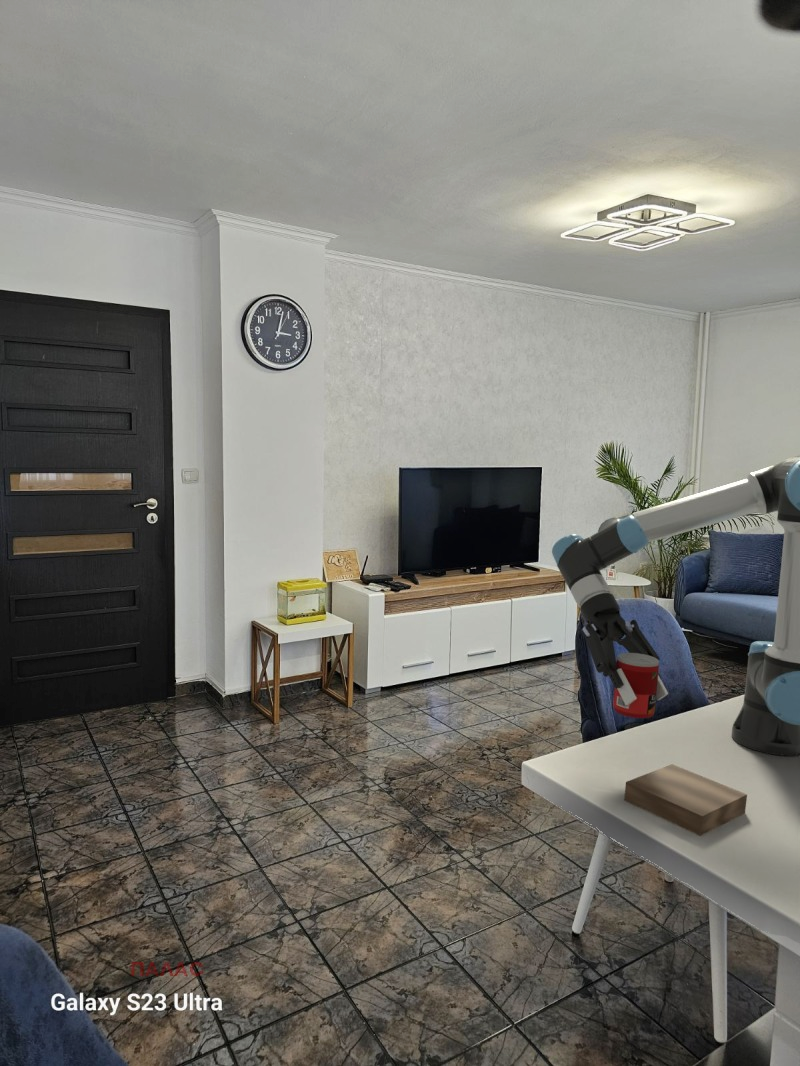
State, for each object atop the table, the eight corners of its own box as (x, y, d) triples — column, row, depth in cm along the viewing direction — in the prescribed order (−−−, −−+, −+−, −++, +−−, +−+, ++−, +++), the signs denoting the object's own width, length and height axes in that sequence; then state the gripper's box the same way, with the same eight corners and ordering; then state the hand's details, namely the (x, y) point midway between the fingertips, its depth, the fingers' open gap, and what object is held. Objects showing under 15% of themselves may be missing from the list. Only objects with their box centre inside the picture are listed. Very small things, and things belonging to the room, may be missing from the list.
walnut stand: (670, 781, 147) (671, 764, 146) (745, 812, 135) (747, 794, 135) (624, 800, 137) (625, 781, 137) (700, 836, 126) (702, 816, 125)
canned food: (656, 721, 144) (661, 665, 143) (613, 716, 146) (618, 661, 145) (652, 707, 152) (656, 654, 150) (611, 703, 153) (615, 650, 152)
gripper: (621, 607, 165) (672, 702, 153) (548, 613, 156) (596, 714, 143) (641, 588, 160) (696, 684, 148) (566, 593, 150) (619, 696, 138)
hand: (647, 699), depth 146 cm, fingers closed on canned food, 8 cm apart
